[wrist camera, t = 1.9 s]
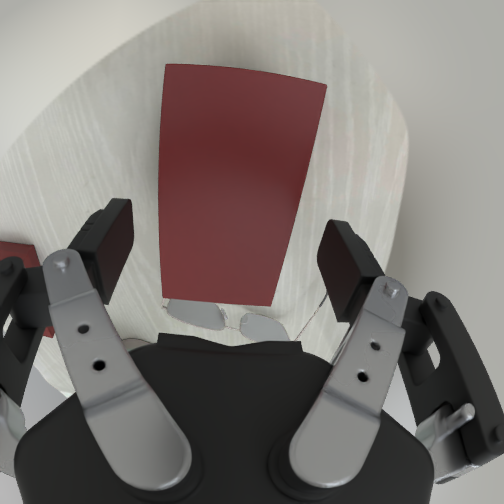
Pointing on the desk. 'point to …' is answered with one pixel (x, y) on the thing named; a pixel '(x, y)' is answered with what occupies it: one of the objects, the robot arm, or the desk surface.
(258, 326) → the eyeglasses
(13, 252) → the oxblood books
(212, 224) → the thin oxblood book
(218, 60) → the desk surface
